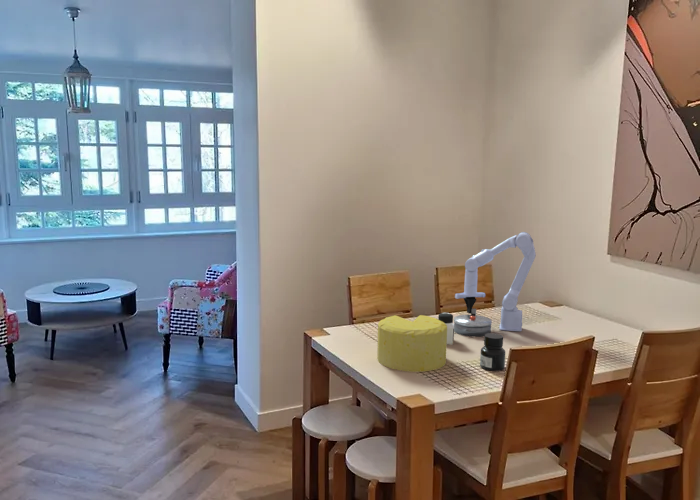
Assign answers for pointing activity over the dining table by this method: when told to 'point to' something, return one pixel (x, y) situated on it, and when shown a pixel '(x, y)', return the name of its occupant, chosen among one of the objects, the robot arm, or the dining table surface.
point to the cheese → (412, 343)
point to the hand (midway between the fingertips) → (469, 312)
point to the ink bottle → (492, 352)
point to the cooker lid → (472, 320)
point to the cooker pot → (471, 330)
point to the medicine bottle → (448, 326)
